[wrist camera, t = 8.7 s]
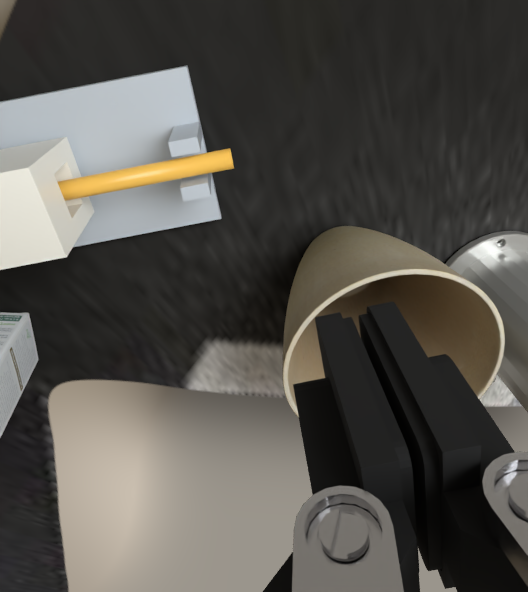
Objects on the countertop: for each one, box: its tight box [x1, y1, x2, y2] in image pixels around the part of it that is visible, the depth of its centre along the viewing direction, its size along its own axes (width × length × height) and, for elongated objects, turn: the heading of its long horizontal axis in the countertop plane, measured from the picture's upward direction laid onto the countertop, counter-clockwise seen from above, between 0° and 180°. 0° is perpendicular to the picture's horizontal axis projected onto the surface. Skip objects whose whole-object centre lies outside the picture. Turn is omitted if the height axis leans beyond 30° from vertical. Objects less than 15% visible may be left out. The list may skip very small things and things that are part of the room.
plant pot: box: [283, 226, 505, 418], centre depth 38 cm, size 15×15×16 cm
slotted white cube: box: [0, 137, 94, 270], centre depth 33 cm, size 6×5×8 cm
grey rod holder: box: [0, 65, 234, 247], centre depth 35 cm, size 12×22×8 cm, turn 99°
